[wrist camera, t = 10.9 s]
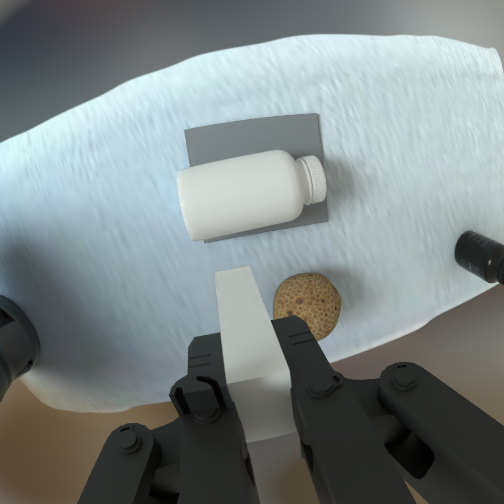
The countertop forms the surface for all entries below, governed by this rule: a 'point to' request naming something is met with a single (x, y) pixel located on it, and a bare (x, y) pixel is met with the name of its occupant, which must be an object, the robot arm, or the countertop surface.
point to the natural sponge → (309, 302)
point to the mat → (256, 141)
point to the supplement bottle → (481, 256)
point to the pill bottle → (248, 192)
